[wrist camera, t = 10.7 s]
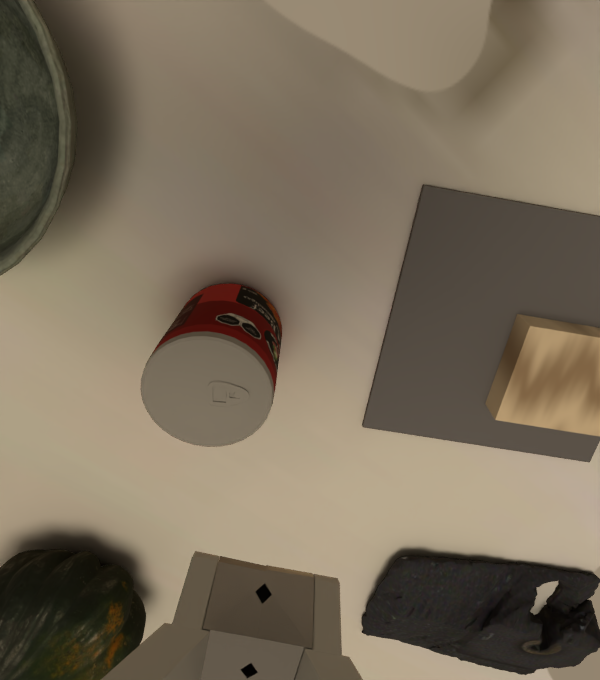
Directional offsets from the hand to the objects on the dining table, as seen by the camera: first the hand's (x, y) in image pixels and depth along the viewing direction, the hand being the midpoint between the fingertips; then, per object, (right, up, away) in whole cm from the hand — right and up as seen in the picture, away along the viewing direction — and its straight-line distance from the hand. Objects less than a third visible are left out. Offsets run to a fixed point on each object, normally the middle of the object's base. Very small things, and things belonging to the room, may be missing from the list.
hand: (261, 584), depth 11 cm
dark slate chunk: (+19, -22, +42) cm, 51 cm away
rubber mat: (+18, +5, +30) cm, 35 cm away
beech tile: (+17, +3, +29) cm, 34 cm away
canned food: (-5, +6, +30) cm, 31 cm away
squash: (-21, -19, +41) cm, 50 cm away
